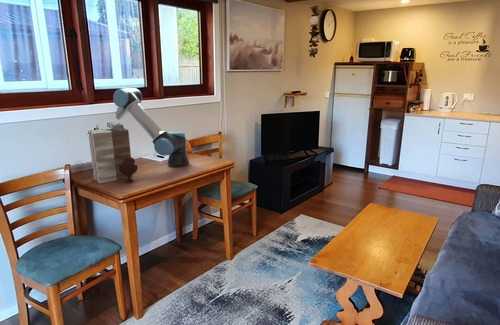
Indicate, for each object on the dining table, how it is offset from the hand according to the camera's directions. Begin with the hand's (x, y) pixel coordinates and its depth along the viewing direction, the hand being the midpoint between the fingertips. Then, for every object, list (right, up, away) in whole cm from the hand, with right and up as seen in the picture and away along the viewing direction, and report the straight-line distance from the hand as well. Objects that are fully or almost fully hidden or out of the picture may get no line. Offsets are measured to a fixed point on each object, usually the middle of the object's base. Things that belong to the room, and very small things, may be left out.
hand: (109, 125), depth 220 cm
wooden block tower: (+5, -33, -5) cm, 34 cm away
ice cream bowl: (+18, -35, -13) cm, 42 cm away
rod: (+6, -2, -7) cm, 9 cm away
